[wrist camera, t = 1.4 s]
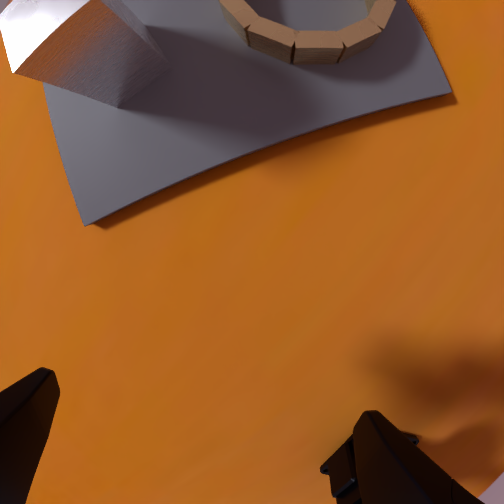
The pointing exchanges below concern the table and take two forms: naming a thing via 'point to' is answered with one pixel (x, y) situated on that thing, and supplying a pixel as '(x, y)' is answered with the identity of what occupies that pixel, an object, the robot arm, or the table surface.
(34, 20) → the tall lilac block
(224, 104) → the stove plate
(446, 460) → the table surface
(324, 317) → the table surface
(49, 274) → the table surface
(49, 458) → the table surface
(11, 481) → the robot arm
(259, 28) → the collar
